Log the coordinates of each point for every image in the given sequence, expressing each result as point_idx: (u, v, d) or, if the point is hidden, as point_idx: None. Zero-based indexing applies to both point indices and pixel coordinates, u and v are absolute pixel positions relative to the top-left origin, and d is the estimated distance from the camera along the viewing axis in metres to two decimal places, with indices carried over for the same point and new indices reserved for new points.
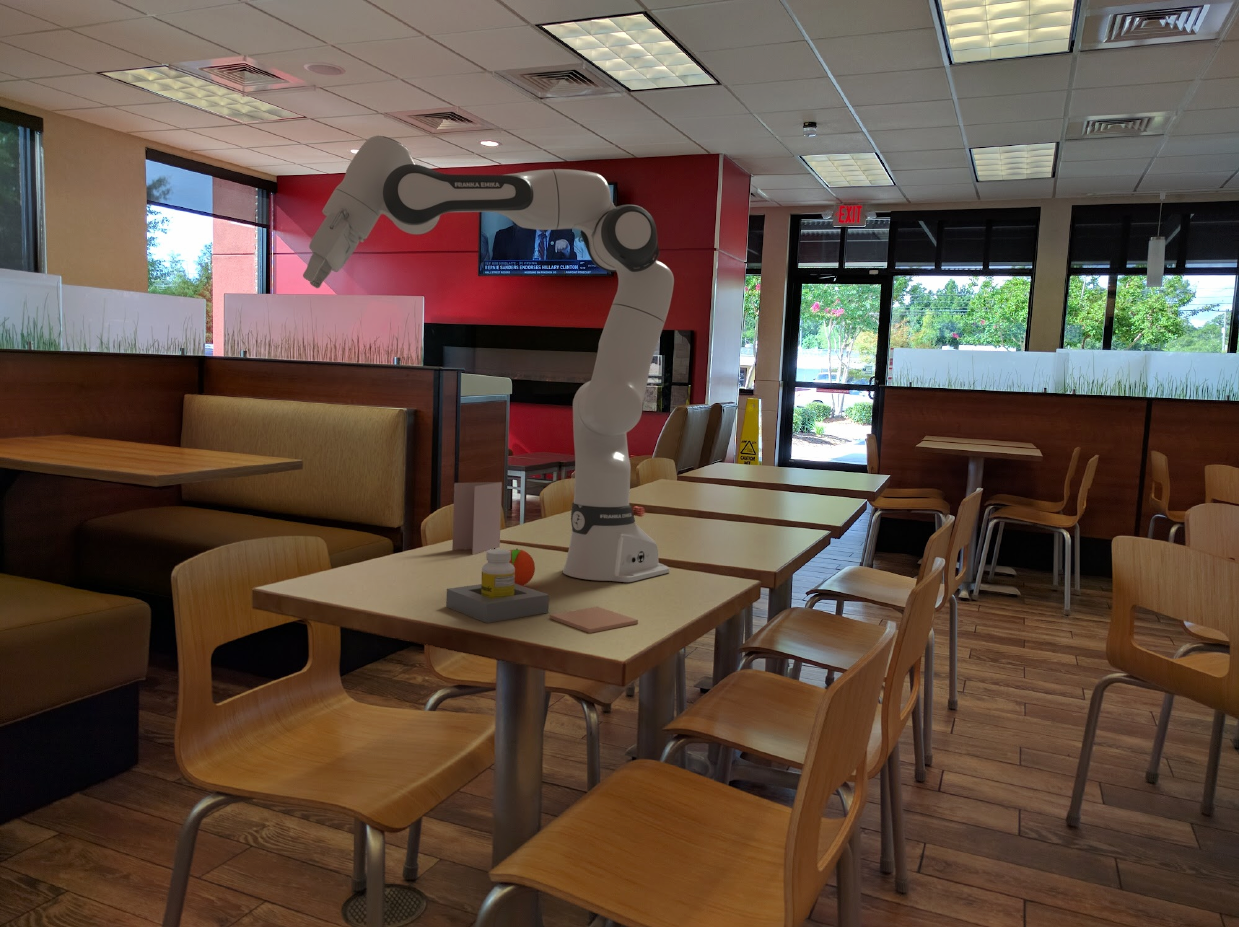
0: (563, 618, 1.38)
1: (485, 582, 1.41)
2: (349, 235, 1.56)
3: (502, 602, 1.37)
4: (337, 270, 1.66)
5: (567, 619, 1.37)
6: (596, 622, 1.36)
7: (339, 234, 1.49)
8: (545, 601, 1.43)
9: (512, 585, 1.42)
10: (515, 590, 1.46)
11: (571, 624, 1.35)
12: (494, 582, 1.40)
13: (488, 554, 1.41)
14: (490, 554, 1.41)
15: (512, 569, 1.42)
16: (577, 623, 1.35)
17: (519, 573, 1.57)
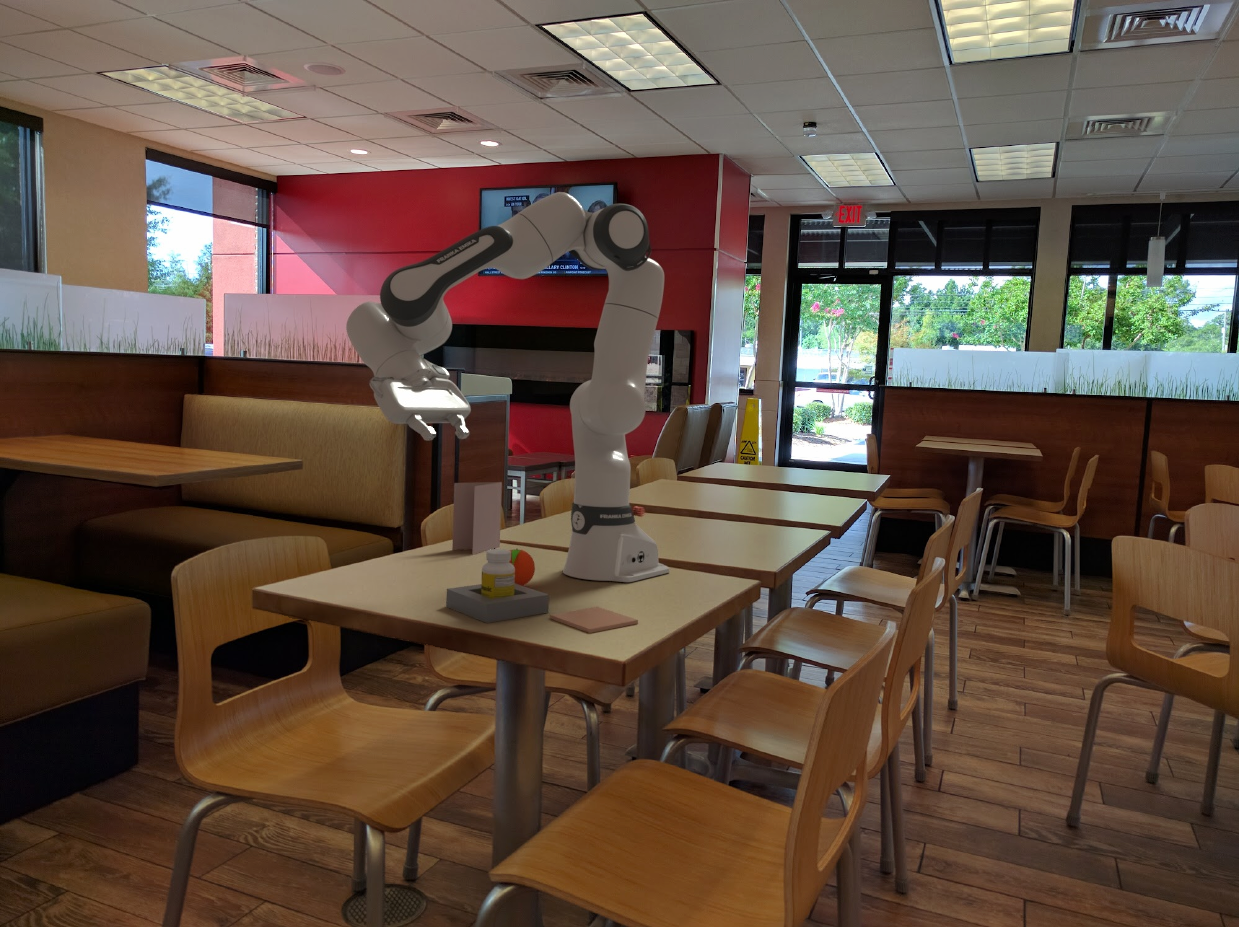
0: (563, 618, 1.38)
1: (485, 582, 1.41)
2: (413, 383, 1.52)
3: (502, 602, 1.37)
4: (466, 409, 1.60)
5: (567, 619, 1.37)
6: (596, 622, 1.36)
7: (388, 390, 1.46)
8: (545, 601, 1.43)
9: (512, 585, 1.42)
10: (515, 590, 1.46)
11: (571, 624, 1.35)
12: (494, 582, 1.40)
13: (488, 554, 1.41)
14: (490, 554, 1.41)
15: (512, 569, 1.42)
16: (577, 623, 1.35)
17: (519, 573, 1.57)
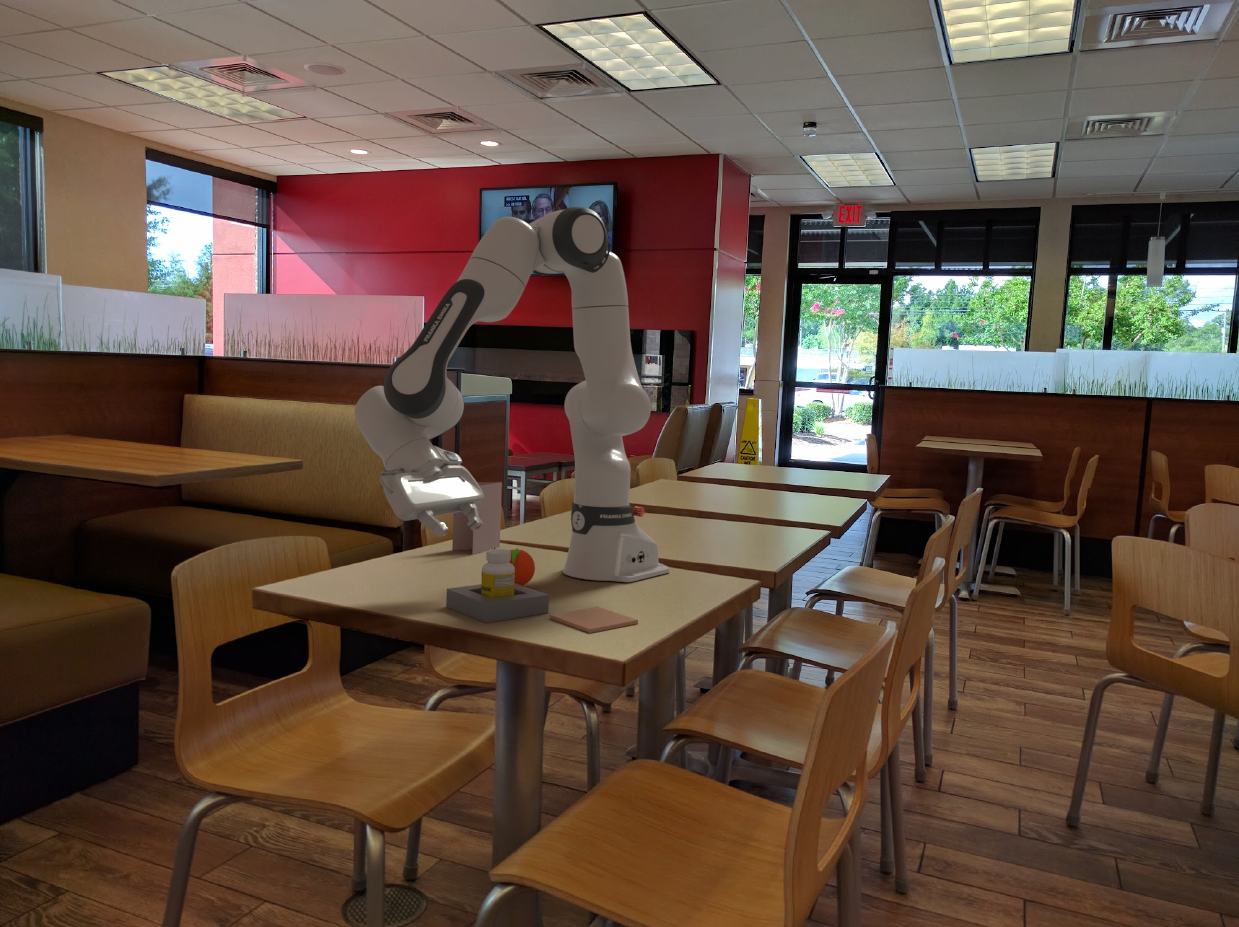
0: (563, 618, 1.38)
1: (485, 582, 1.41)
2: (424, 475, 1.46)
3: (502, 602, 1.37)
4: (479, 497, 1.54)
5: (567, 619, 1.37)
6: (596, 622, 1.36)
7: (399, 486, 1.39)
8: (545, 601, 1.43)
9: (512, 585, 1.42)
10: (515, 590, 1.46)
11: (571, 624, 1.35)
12: (494, 582, 1.40)
13: (488, 554, 1.41)
14: (490, 554, 1.41)
15: (512, 568, 1.42)
16: (577, 623, 1.35)
17: (519, 573, 1.57)
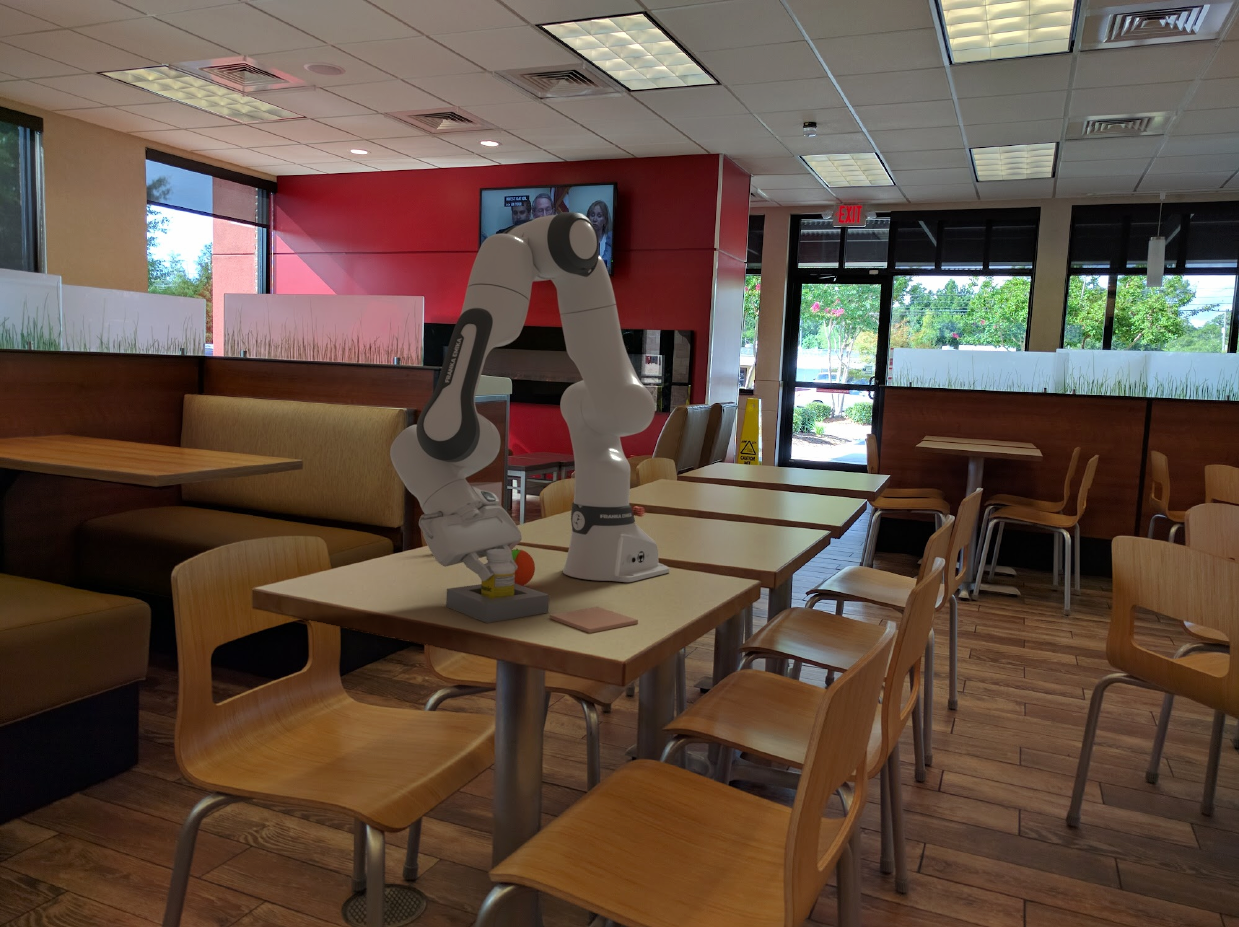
0: (563, 618, 1.38)
1: (485, 582, 1.41)
2: (463, 517, 1.43)
3: (502, 602, 1.37)
4: (517, 538, 1.50)
5: (567, 619, 1.37)
6: (596, 622, 1.36)
7: (439, 531, 1.36)
8: (545, 601, 1.43)
9: (512, 585, 1.42)
10: (515, 590, 1.46)
11: (571, 624, 1.35)
12: (494, 582, 1.40)
13: (488, 554, 1.41)
14: (490, 554, 1.41)
15: (512, 568, 1.42)
16: (577, 623, 1.35)
17: (519, 573, 1.57)
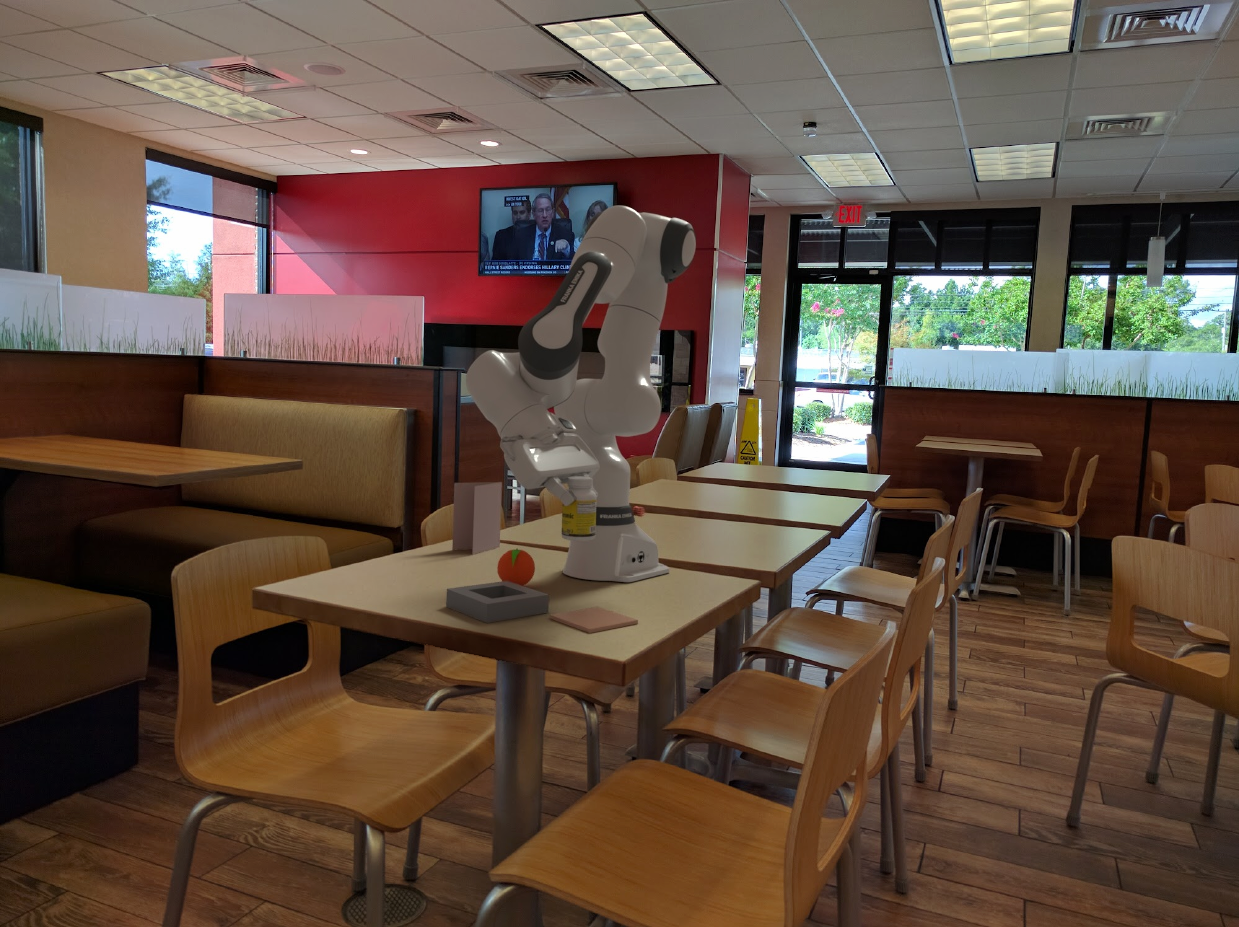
0: (563, 618, 1.38)
1: (567, 509, 1.37)
2: (543, 442, 1.38)
3: (502, 602, 1.37)
4: (595, 466, 1.46)
5: (567, 619, 1.37)
6: (596, 622, 1.36)
7: (522, 453, 1.32)
8: (545, 601, 1.43)
9: (594, 512, 1.38)
10: (515, 590, 1.46)
11: (571, 624, 1.35)
12: (577, 509, 1.36)
13: (570, 480, 1.37)
14: (572, 480, 1.36)
15: (594, 495, 1.37)
16: (577, 623, 1.35)
17: (519, 573, 1.57)
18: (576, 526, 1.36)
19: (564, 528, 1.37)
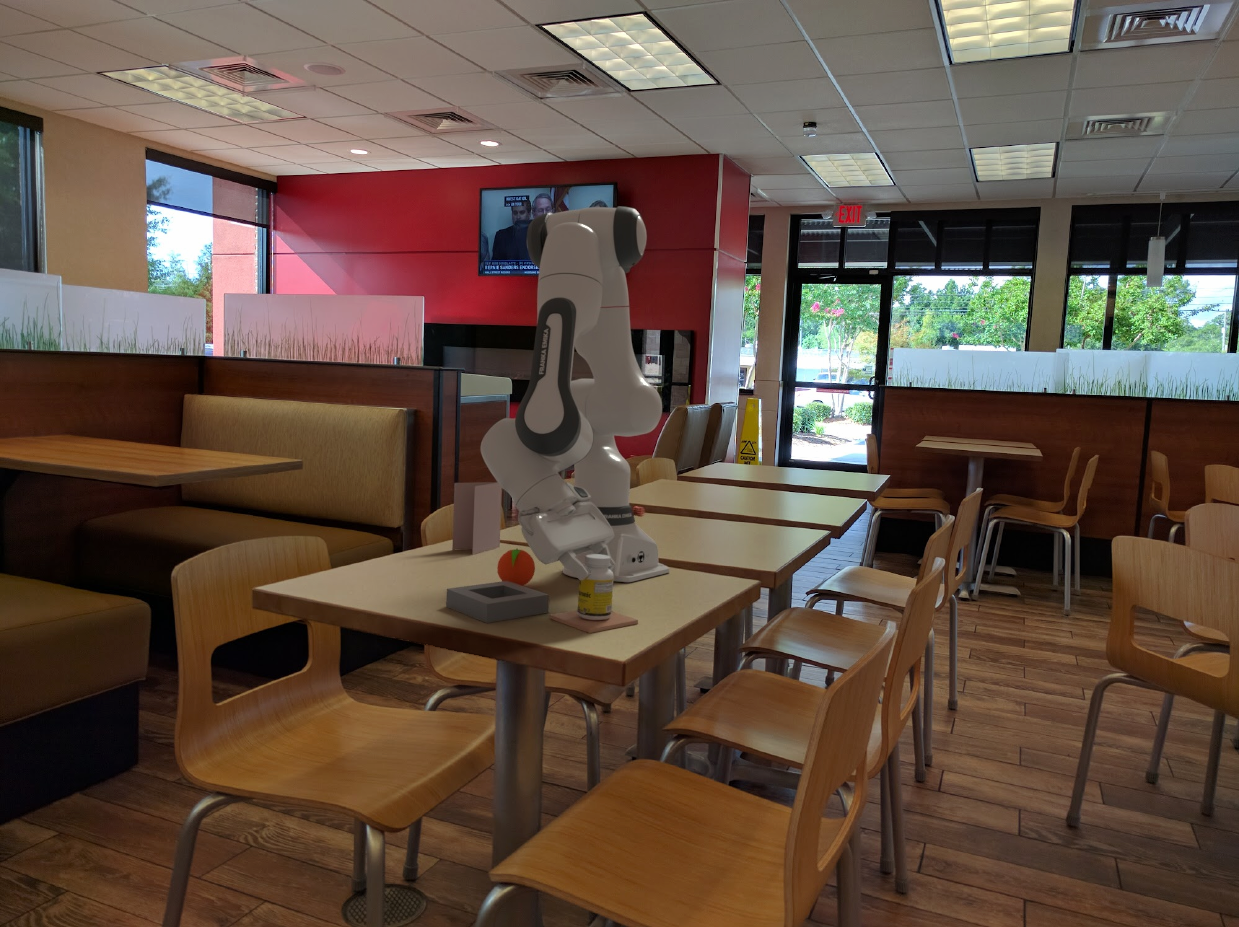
0: (563, 618, 1.38)
1: (585, 588, 1.37)
2: (559, 514, 1.38)
3: (502, 602, 1.37)
4: (610, 535, 1.46)
5: (567, 619, 1.37)
6: (596, 622, 1.36)
7: (540, 528, 1.32)
8: (545, 601, 1.43)
9: (611, 591, 1.38)
10: (515, 590, 1.46)
11: (571, 624, 1.35)
12: (594, 588, 1.36)
13: (588, 559, 1.37)
14: (590, 559, 1.37)
15: (612, 574, 1.38)
16: (577, 623, 1.35)
17: (519, 573, 1.57)
18: (593, 605, 1.36)
19: (580, 607, 1.38)
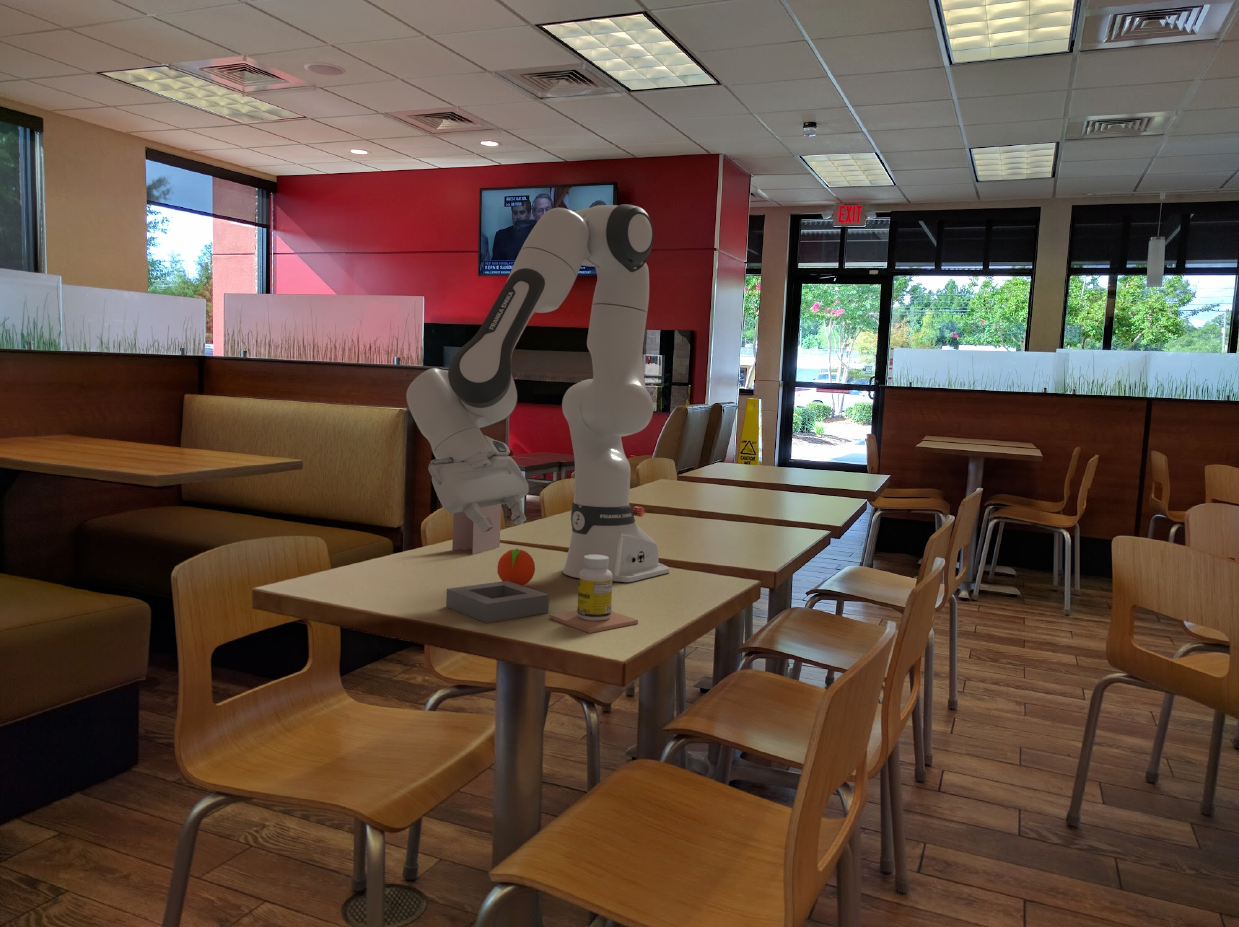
0: (563, 618, 1.38)
1: (584, 589, 1.37)
2: (472, 466, 1.43)
3: (502, 602, 1.37)
4: (524, 490, 1.51)
5: (567, 619, 1.37)
6: (596, 622, 1.36)
7: (448, 478, 1.37)
8: (545, 601, 1.43)
9: (610, 592, 1.38)
10: (515, 590, 1.46)
11: (571, 624, 1.35)
12: (593, 589, 1.36)
13: (586, 560, 1.37)
14: (589, 560, 1.37)
15: (610, 575, 1.38)
16: (577, 623, 1.35)
17: (519, 573, 1.57)
18: (592, 606, 1.36)
19: (580, 608, 1.38)
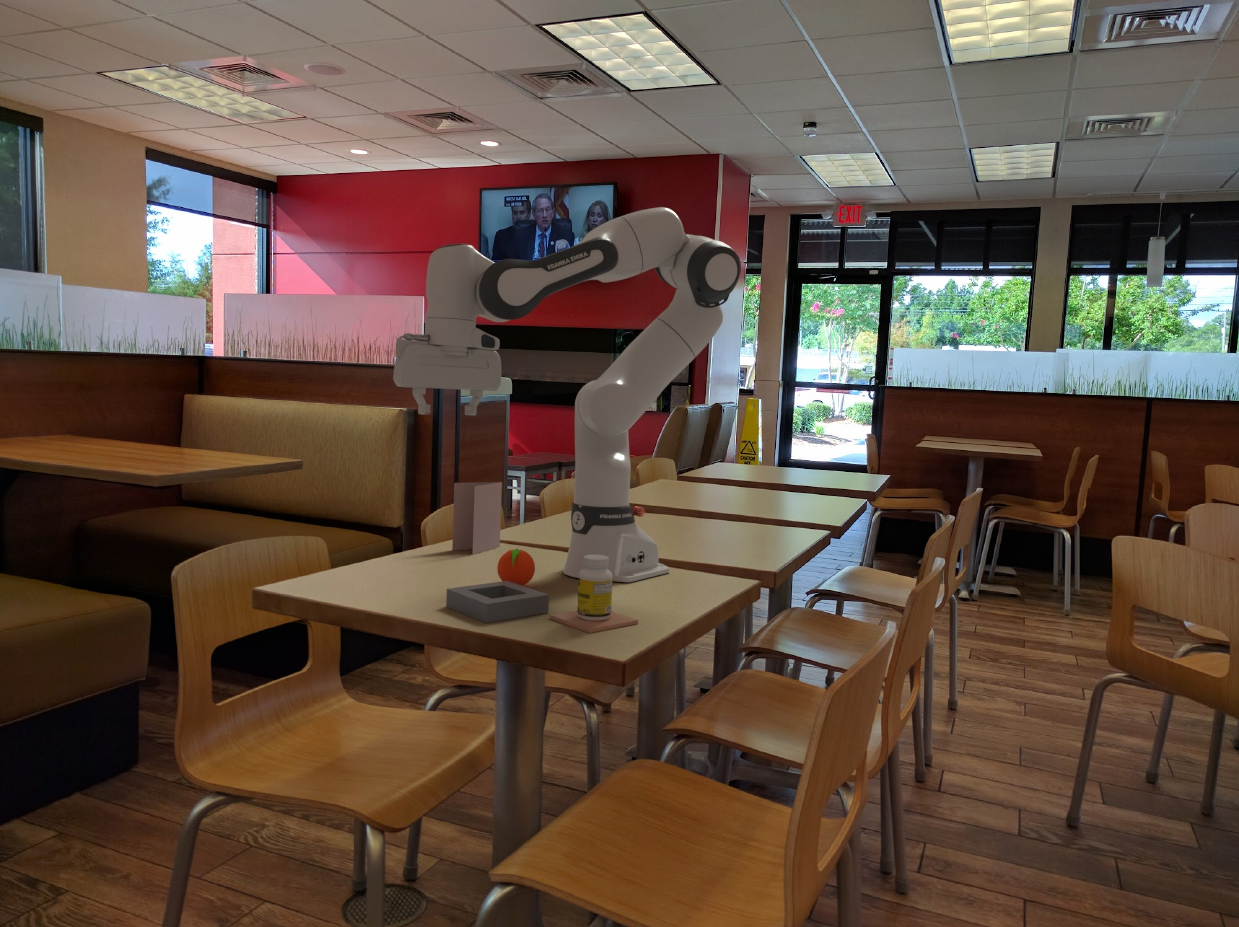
0: (563, 618, 1.38)
1: (584, 589, 1.37)
2: (443, 353, 1.52)
3: (502, 602, 1.37)
4: (491, 388, 1.59)
5: (567, 619, 1.37)
6: (596, 622, 1.36)
7: (405, 359, 1.47)
8: (545, 601, 1.43)
9: (610, 592, 1.38)
10: (515, 590, 1.46)
11: (571, 624, 1.35)
12: (593, 589, 1.36)
13: (586, 560, 1.37)
14: (589, 560, 1.37)
15: (610, 575, 1.38)
16: (577, 623, 1.35)
17: (519, 573, 1.57)
18: (592, 606, 1.36)
19: (580, 608, 1.38)
